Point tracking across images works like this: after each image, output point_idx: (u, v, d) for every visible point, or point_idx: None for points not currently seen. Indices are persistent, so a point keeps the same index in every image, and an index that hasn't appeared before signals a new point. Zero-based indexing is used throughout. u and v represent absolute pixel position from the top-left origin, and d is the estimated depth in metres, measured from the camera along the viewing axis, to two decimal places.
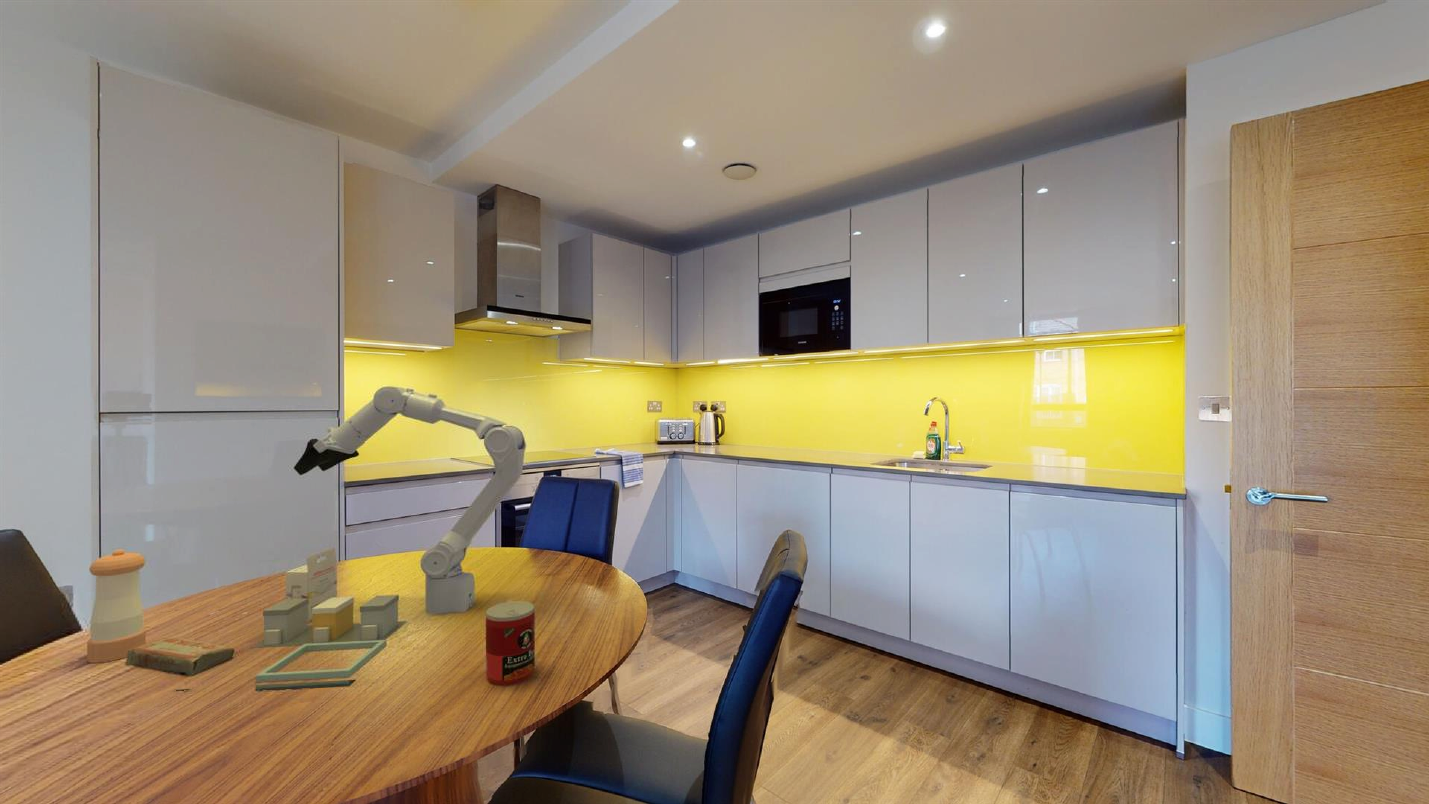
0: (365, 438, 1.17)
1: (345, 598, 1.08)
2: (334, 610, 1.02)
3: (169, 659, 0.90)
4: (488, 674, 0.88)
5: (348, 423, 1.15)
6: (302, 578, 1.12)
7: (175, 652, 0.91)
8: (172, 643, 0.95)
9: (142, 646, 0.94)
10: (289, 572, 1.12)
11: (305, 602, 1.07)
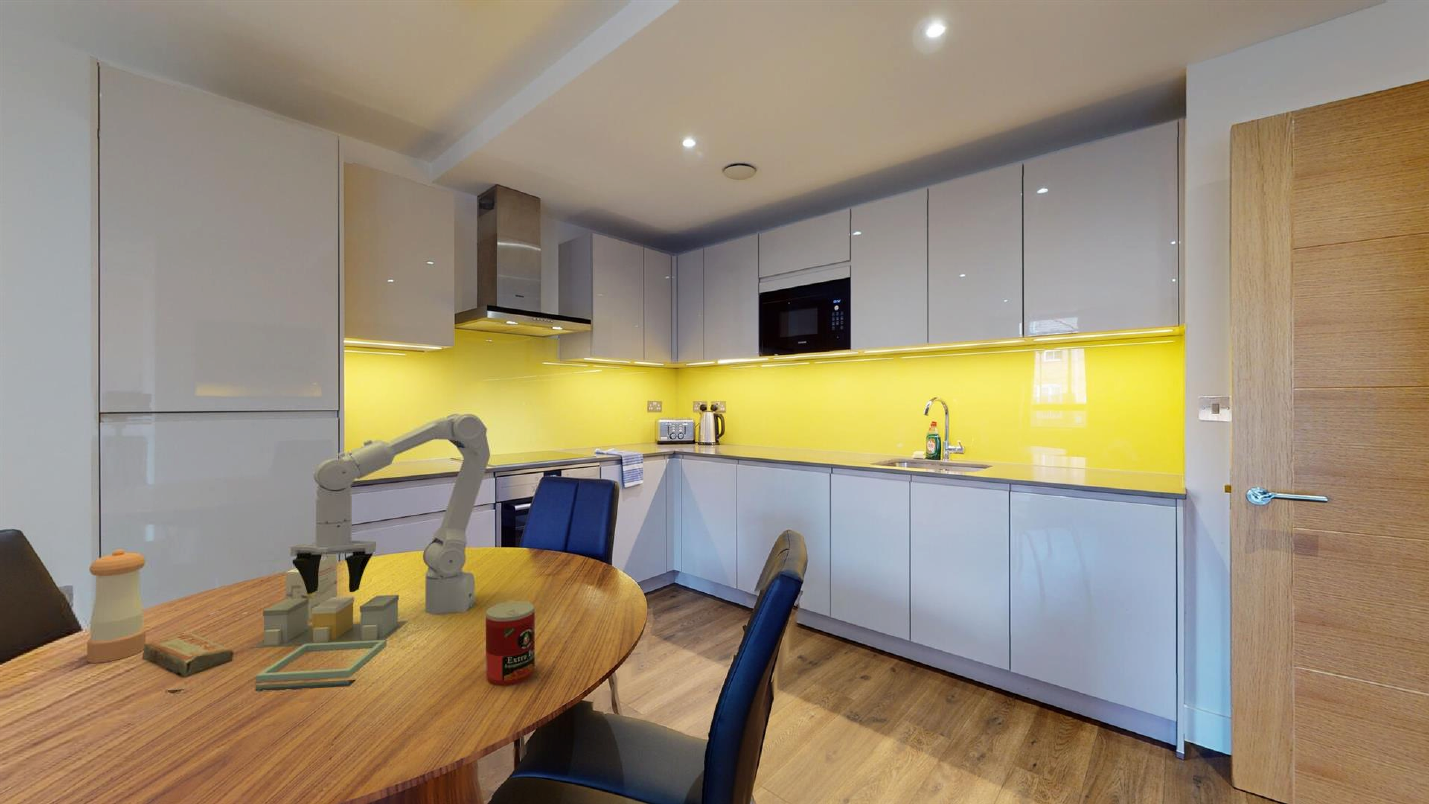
0: None
1: (345, 598, 1.08)
2: (334, 610, 1.02)
3: (170, 657, 0.91)
4: (488, 674, 0.88)
5: (343, 523, 1.05)
6: None
7: (177, 651, 0.92)
8: (183, 640, 0.96)
9: (157, 641, 0.96)
10: (289, 572, 1.12)
11: (305, 602, 1.07)
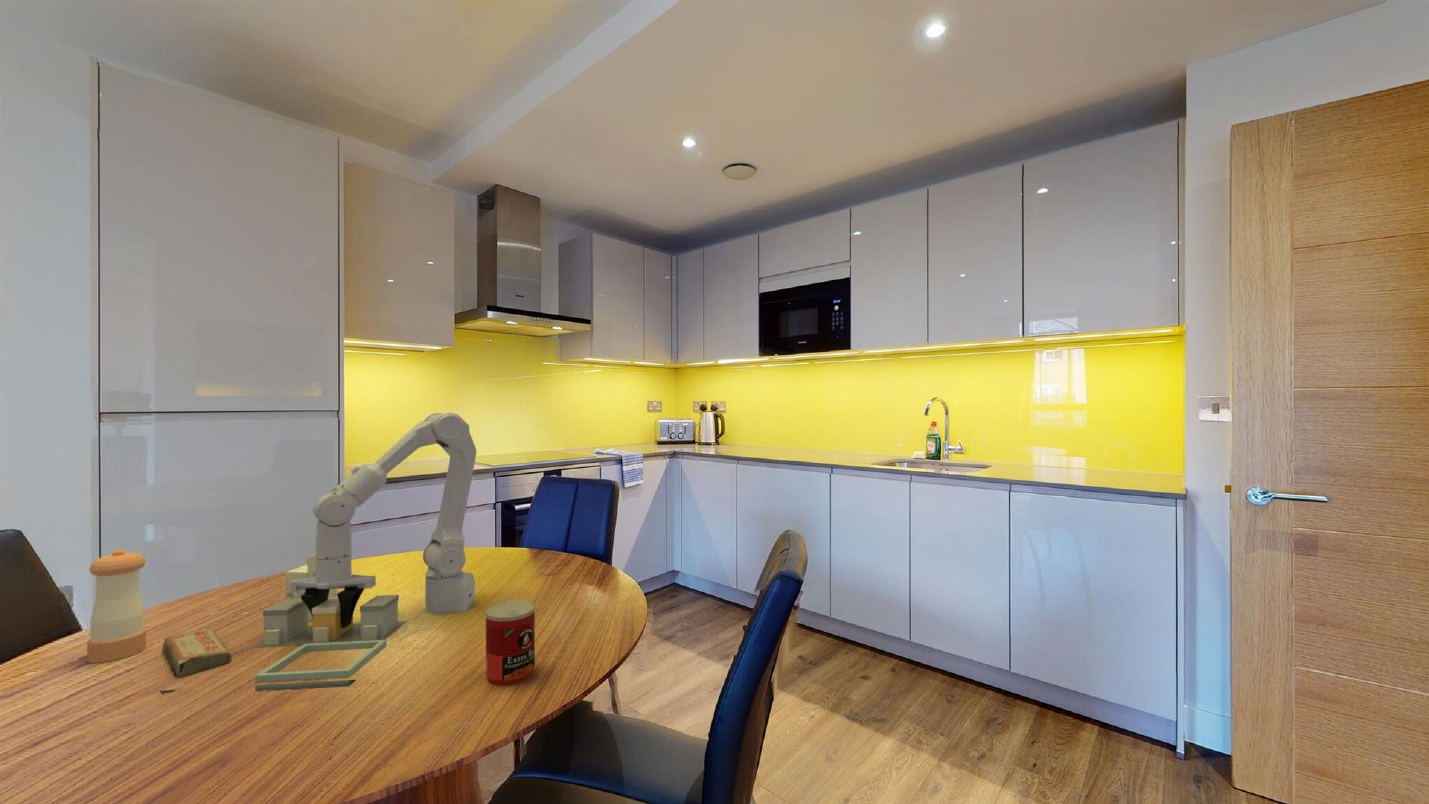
0: None
1: None
2: (334, 610, 1.02)
3: (172, 656, 0.91)
4: (488, 674, 0.88)
5: (342, 558, 1.04)
6: None
7: (181, 649, 0.92)
8: (195, 637, 0.98)
9: (175, 636, 0.98)
10: (289, 572, 1.12)
11: None
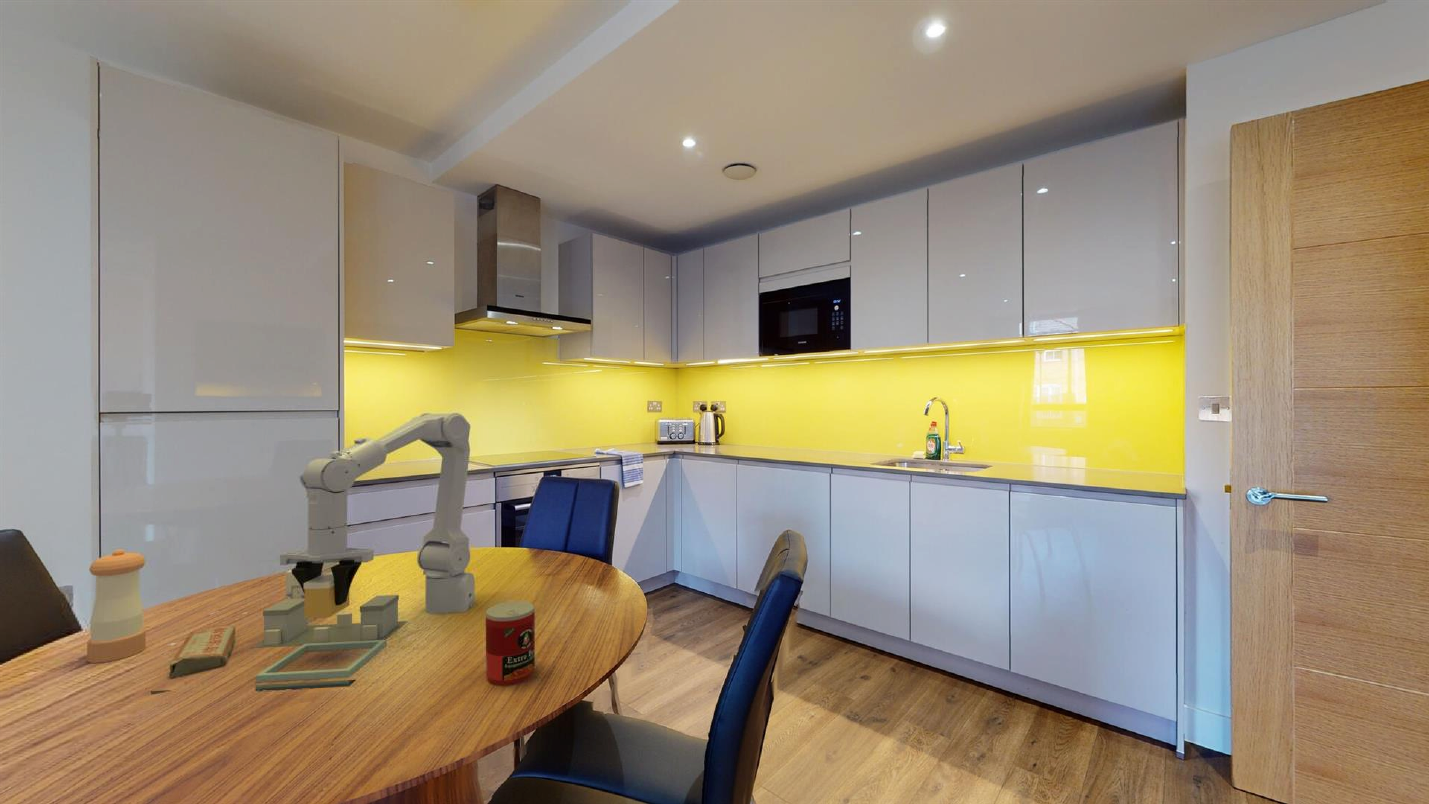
0: None
1: None
2: (328, 585, 0.93)
3: (176, 654, 0.92)
4: (488, 674, 0.88)
5: (337, 529, 0.95)
6: None
7: (185, 647, 0.93)
8: (211, 634, 0.99)
9: (198, 631, 1.01)
10: (289, 572, 1.12)
11: None
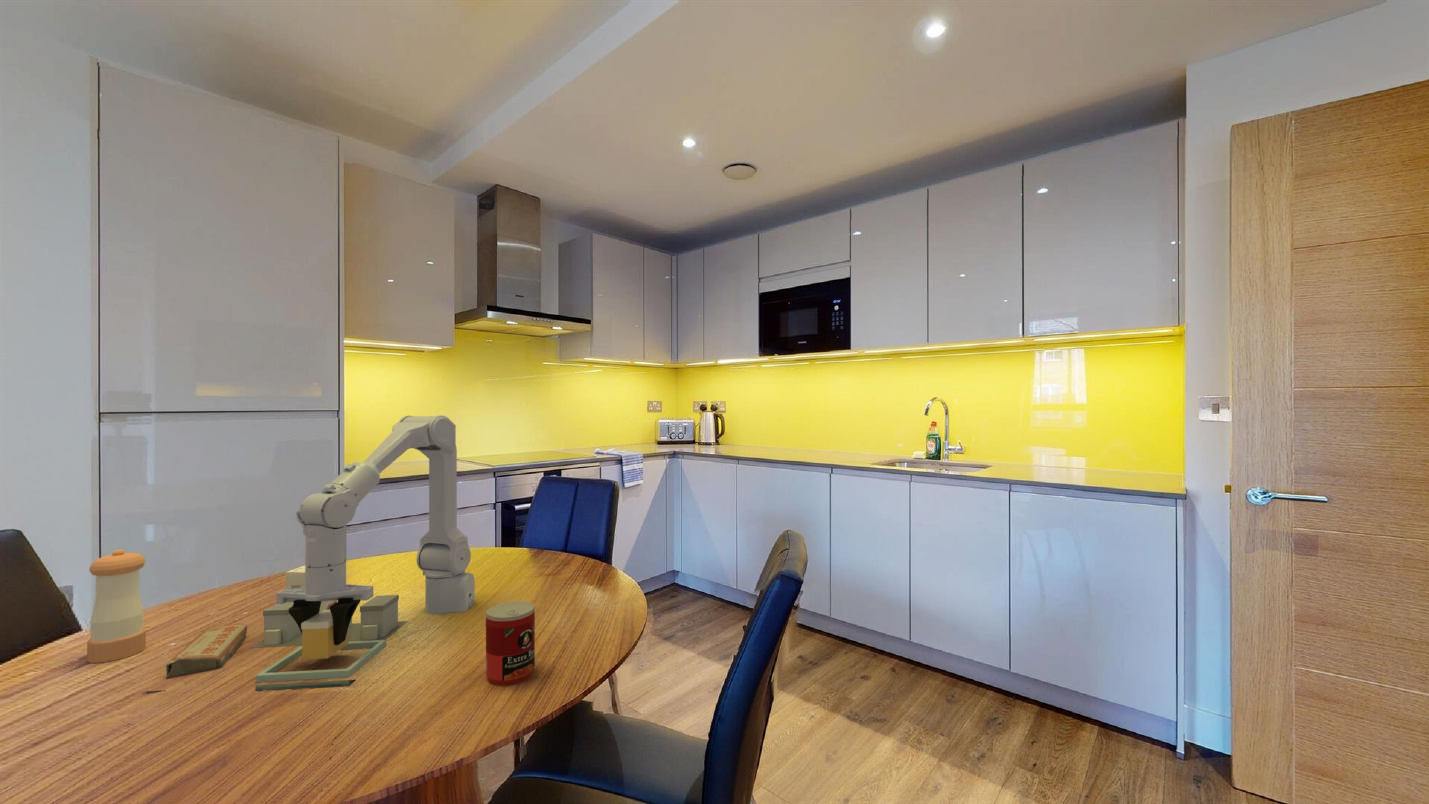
0: None
1: None
2: (326, 625, 0.90)
3: (179, 652, 0.93)
4: (488, 674, 0.88)
5: (336, 566, 0.92)
6: (302, 578, 1.12)
7: (189, 646, 0.93)
8: (219, 633, 0.99)
9: (212, 628, 1.02)
10: (289, 572, 1.12)
11: None
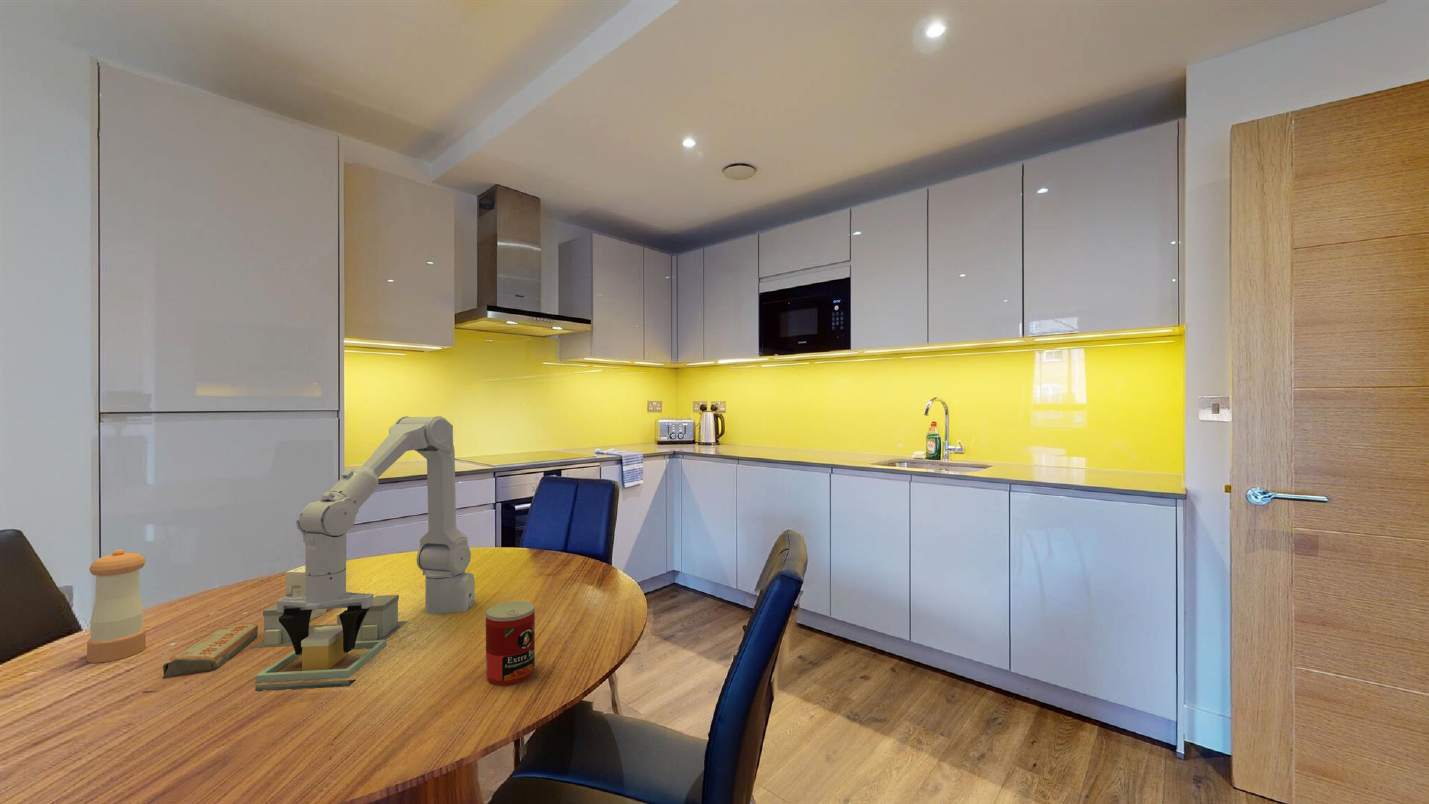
0: None
1: (339, 627, 0.95)
2: (326, 643, 0.90)
3: None
4: (488, 674, 0.88)
5: (336, 574, 0.92)
6: (302, 578, 1.12)
7: (192, 646, 0.94)
8: (227, 632, 1.00)
9: (224, 626, 1.03)
10: (289, 572, 1.12)
11: None
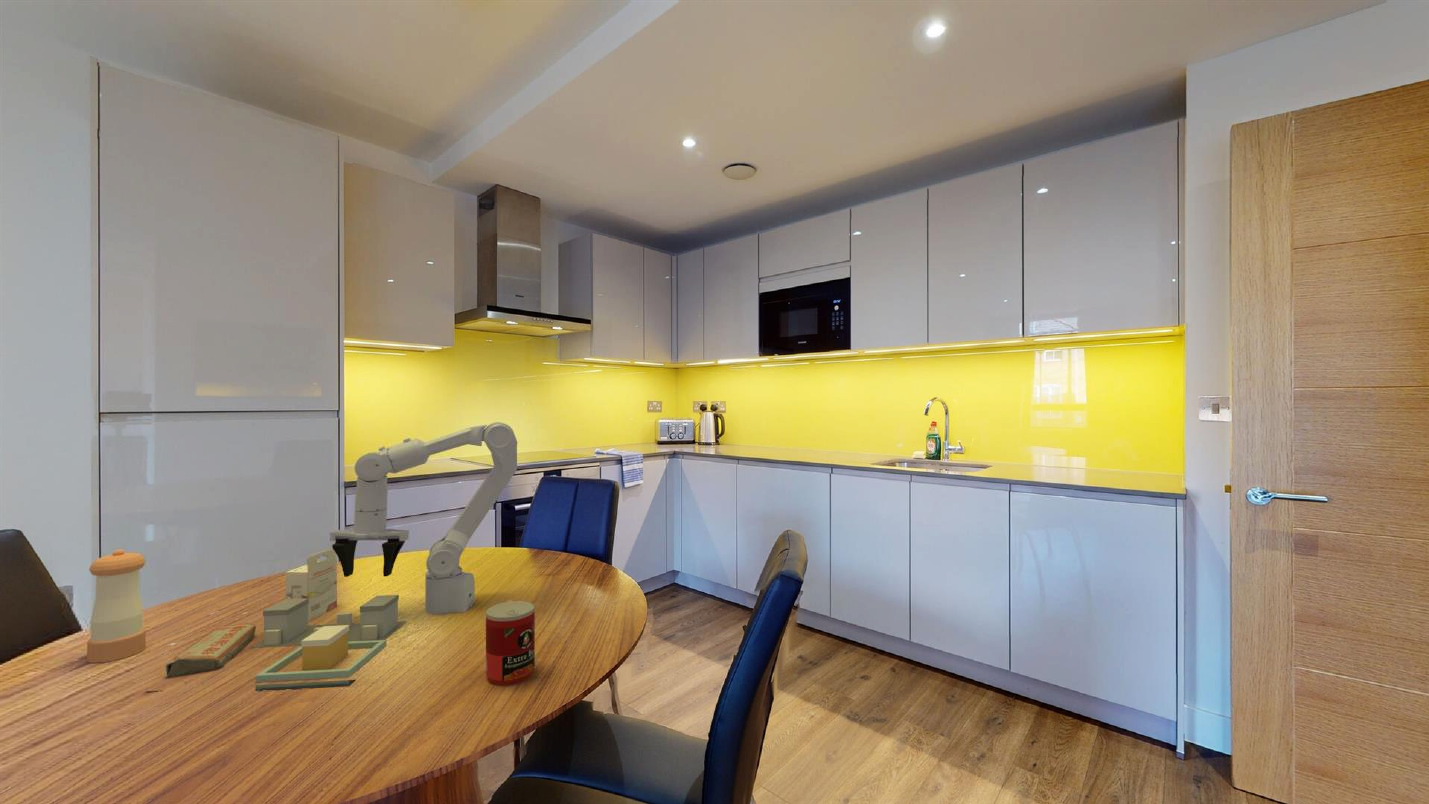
0: None
1: (339, 627, 0.95)
2: (326, 643, 0.90)
3: None
4: (488, 674, 0.88)
5: (380, 512, 1.13)
6: (302, 578, 1.12)
7: (193, 646, 0.94)
8: (226, 633, 1.00)
9: (221, 627, 1.02)
10: (289, 572, 1.12)
11: (305, 602, 1.07)
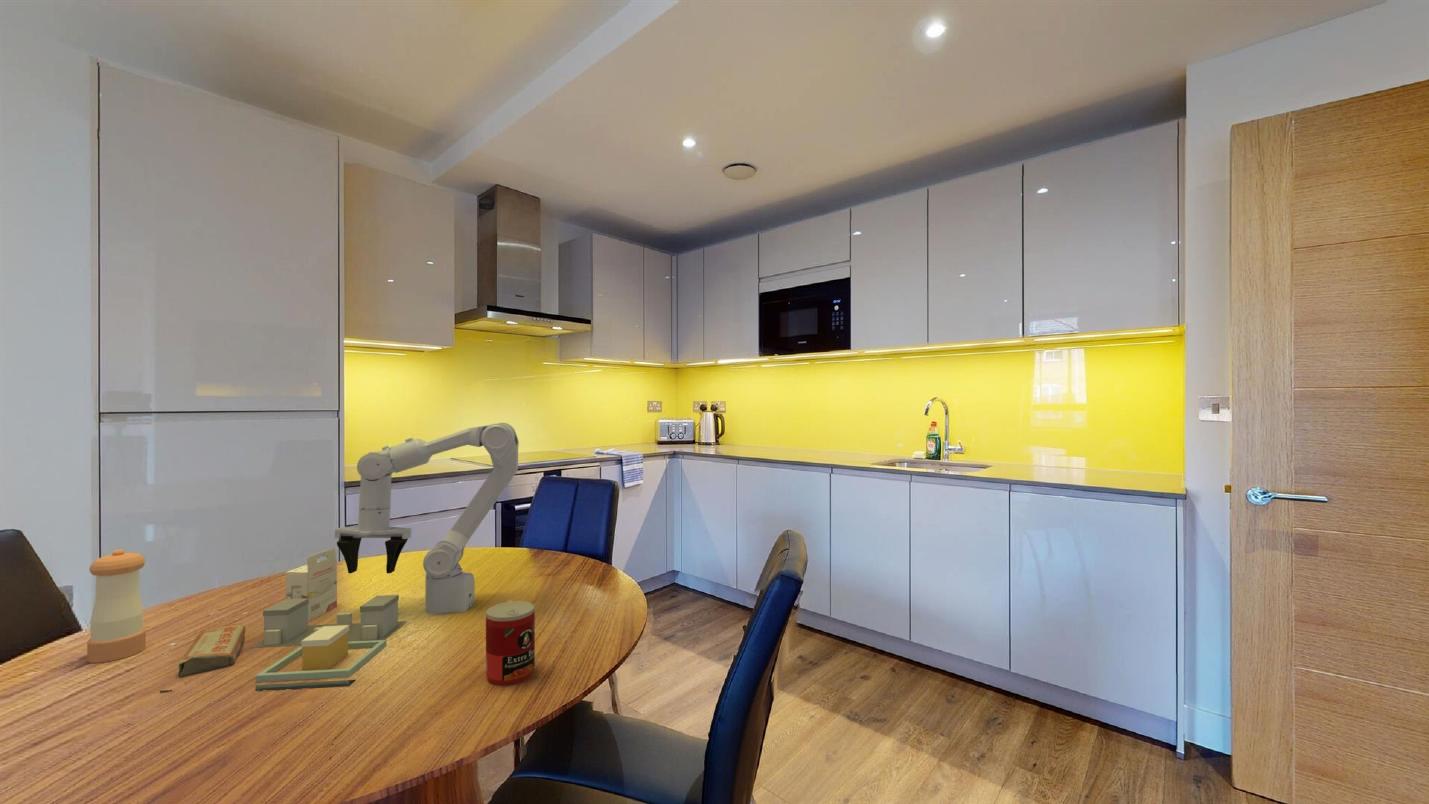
0: None
1: (339, 627, 0.95)
2: (326, 643, 0.90)
3: (186, 652, 0.92)
4: (488, 674, 0.88)
5: (383, 510, 1.15)
6: (302, 578, 1.12)
7: (195, 646, 0.93)
8: (221, 633, 0.99)
9: (209, 630, 1.01)
10: (289, 572, 1.12)
11: (305, 602, 1.07)
